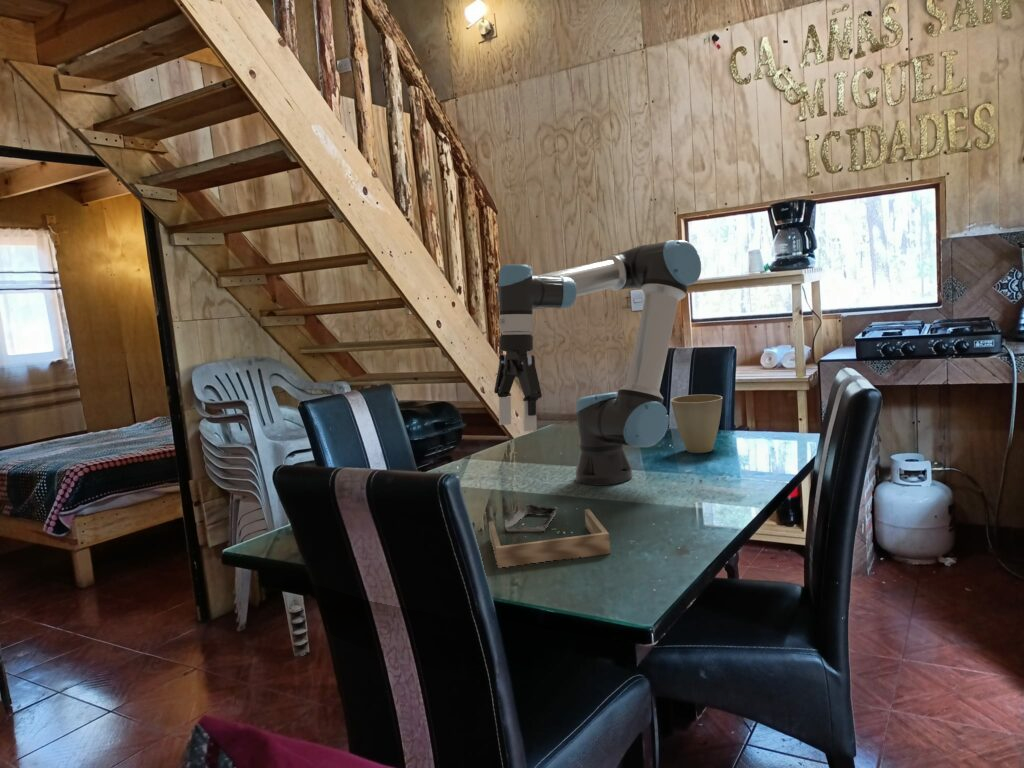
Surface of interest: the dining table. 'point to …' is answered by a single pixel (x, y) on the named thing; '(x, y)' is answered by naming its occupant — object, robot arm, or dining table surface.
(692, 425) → the plant pot
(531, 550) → the box
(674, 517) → the dining table surface
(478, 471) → the dining table surface
